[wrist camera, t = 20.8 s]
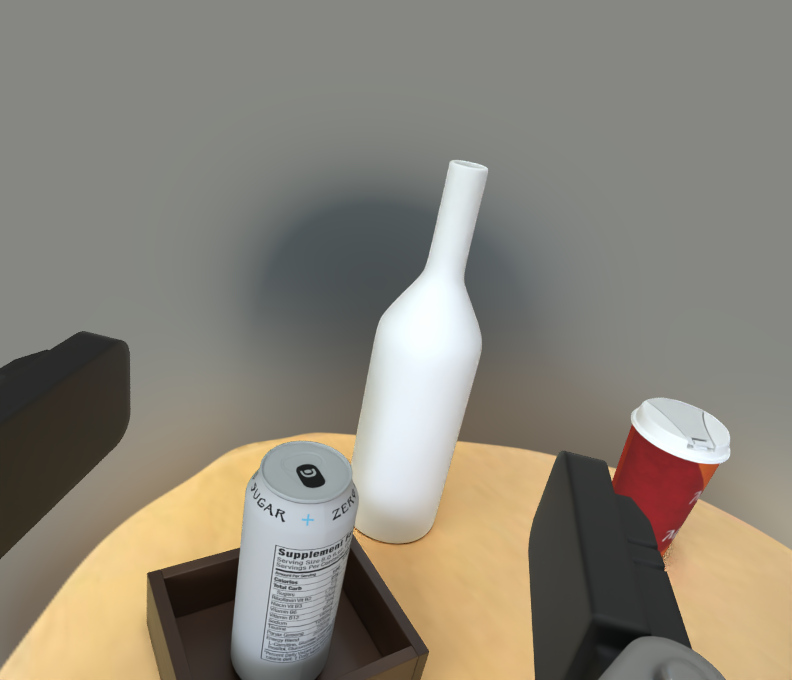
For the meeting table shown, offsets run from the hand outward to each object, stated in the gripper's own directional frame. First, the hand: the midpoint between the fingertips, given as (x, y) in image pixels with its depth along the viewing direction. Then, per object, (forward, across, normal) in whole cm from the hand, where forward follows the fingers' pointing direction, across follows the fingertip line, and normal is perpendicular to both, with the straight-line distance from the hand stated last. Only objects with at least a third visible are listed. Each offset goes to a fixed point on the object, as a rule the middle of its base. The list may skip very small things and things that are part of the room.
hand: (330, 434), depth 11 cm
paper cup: (+35, -22, +30) cm, 51 cm away
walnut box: (+16, +4, +30) cm, 34 cm away
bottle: (+32, -1, +30) cm, 44 cm away
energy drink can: (+16, +4, +29) cm, 33 cm away
